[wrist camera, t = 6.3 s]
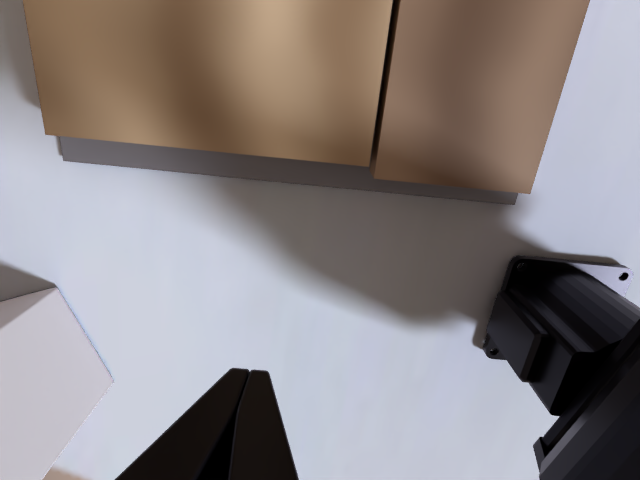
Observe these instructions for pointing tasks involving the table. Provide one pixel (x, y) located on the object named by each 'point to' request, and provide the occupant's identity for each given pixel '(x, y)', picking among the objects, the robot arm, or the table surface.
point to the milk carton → (43, 382)
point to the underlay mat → (262, 167)
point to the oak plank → (213, 73)
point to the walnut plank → (472, 90)
